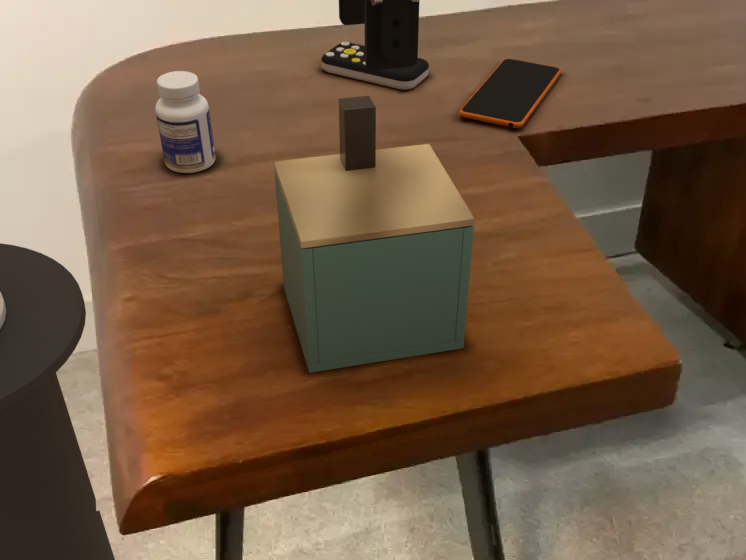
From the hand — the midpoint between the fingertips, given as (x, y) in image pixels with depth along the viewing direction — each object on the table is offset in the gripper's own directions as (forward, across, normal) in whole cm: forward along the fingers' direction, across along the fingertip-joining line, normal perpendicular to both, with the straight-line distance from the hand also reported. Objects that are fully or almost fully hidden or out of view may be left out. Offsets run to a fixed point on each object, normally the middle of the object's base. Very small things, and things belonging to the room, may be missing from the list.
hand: (376, 41), depth 59 cm
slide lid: (+12, -2, 0) cm, 12 cm away
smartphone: (+24, -39, +26) cm, 53 cm away
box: (+24, -2, 0) cm, 24 cm away
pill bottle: (+24, -32, -12) cm, 42 cm away
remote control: (+24, -49, +12) cm, 56 cm away
